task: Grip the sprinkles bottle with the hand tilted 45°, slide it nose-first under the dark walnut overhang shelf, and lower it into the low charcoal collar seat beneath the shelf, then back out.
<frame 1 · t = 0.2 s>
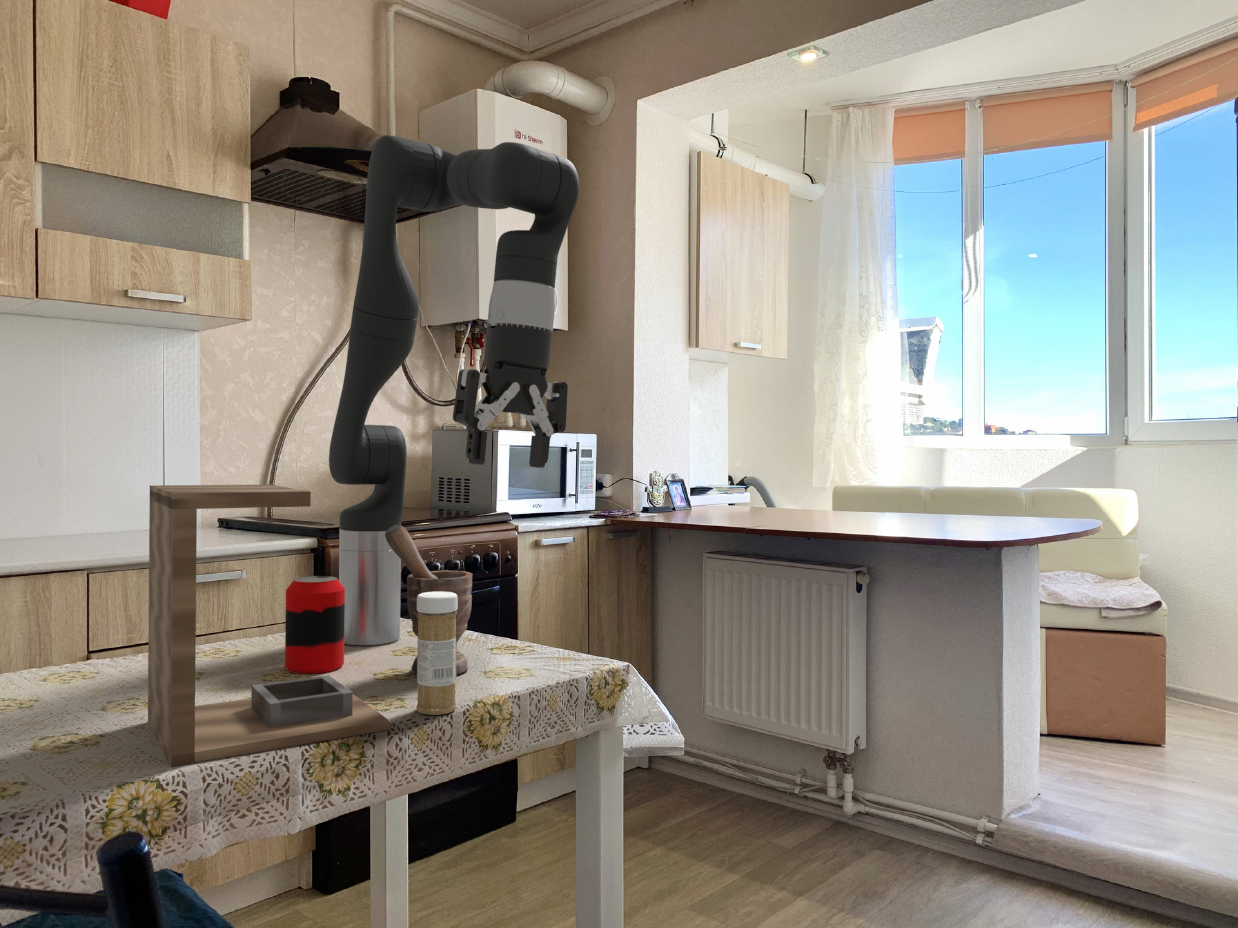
hand: (507, 465, 104), 28 cm above the table, tool pointing down, fingers open, 8 cm apart
sprinkles bottle: (435, 712, 103), on the table
soda can: (314, 668, 122), on the table
overhang stand: (301, 720, 99), on the table
mortar and pestle: (430, 675, 120), on the table
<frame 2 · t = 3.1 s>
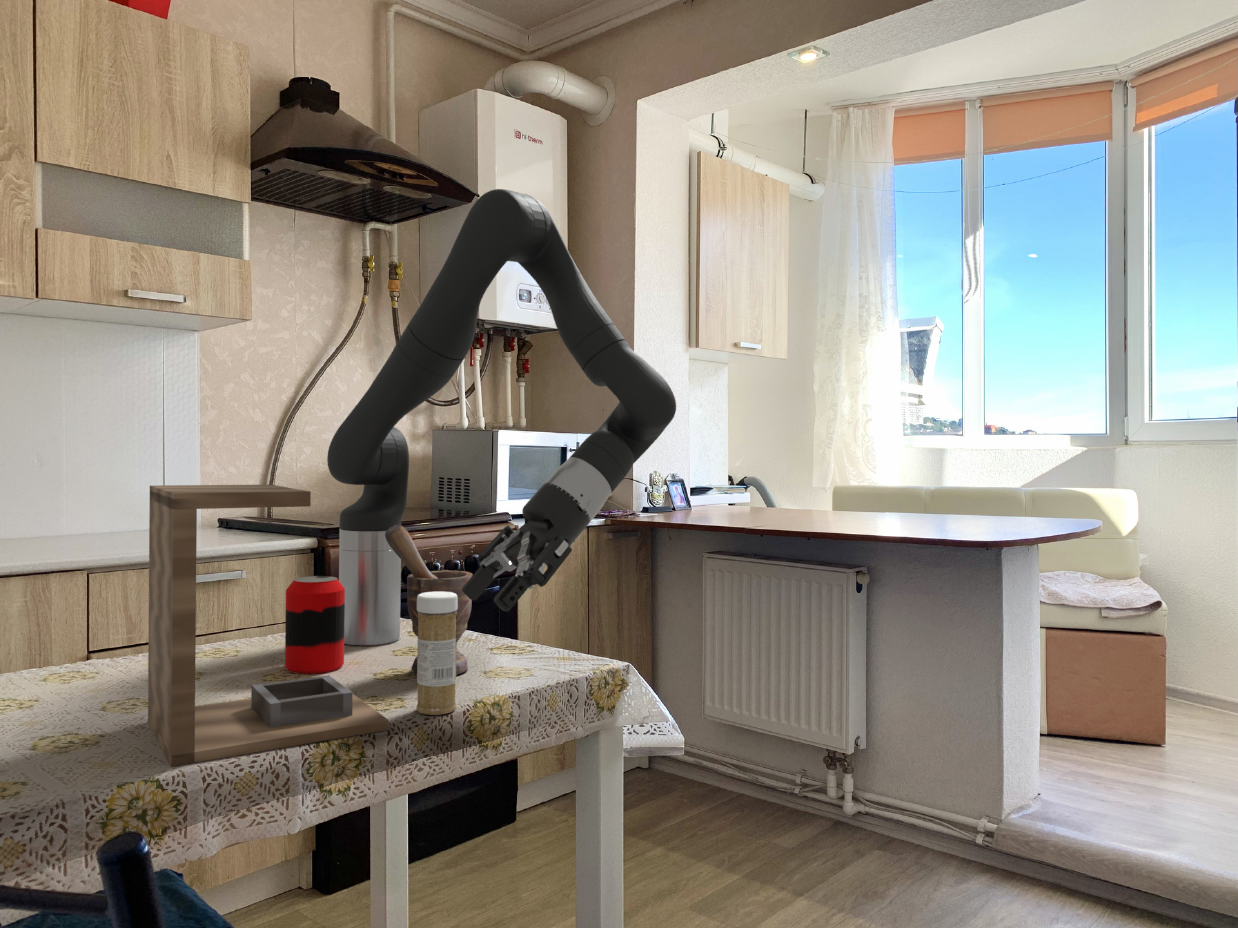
hand: (483, 601, 106), 12 cm above the table, tool tilted 45°, fingers open, 8 cm apart
nothing on the table moved.
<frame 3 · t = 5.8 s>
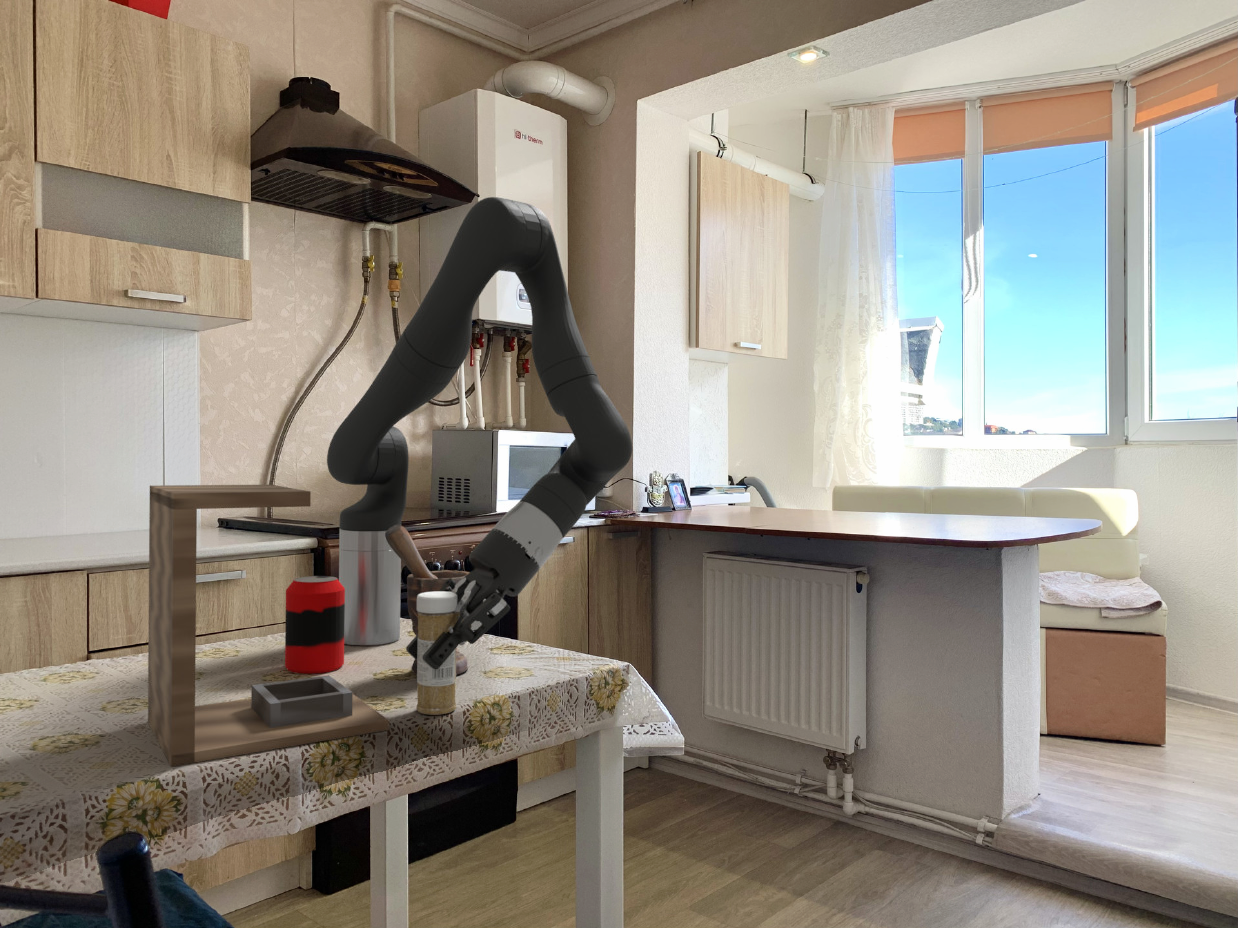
hand: (420, 659, 102), 6 cm above the table, tool tilted 45°, fingers closed on sprinkles bottle, 4 cm apart
sprinkles bottle: (435, 712, 103), on the table, touching gripper
everything else where it was.
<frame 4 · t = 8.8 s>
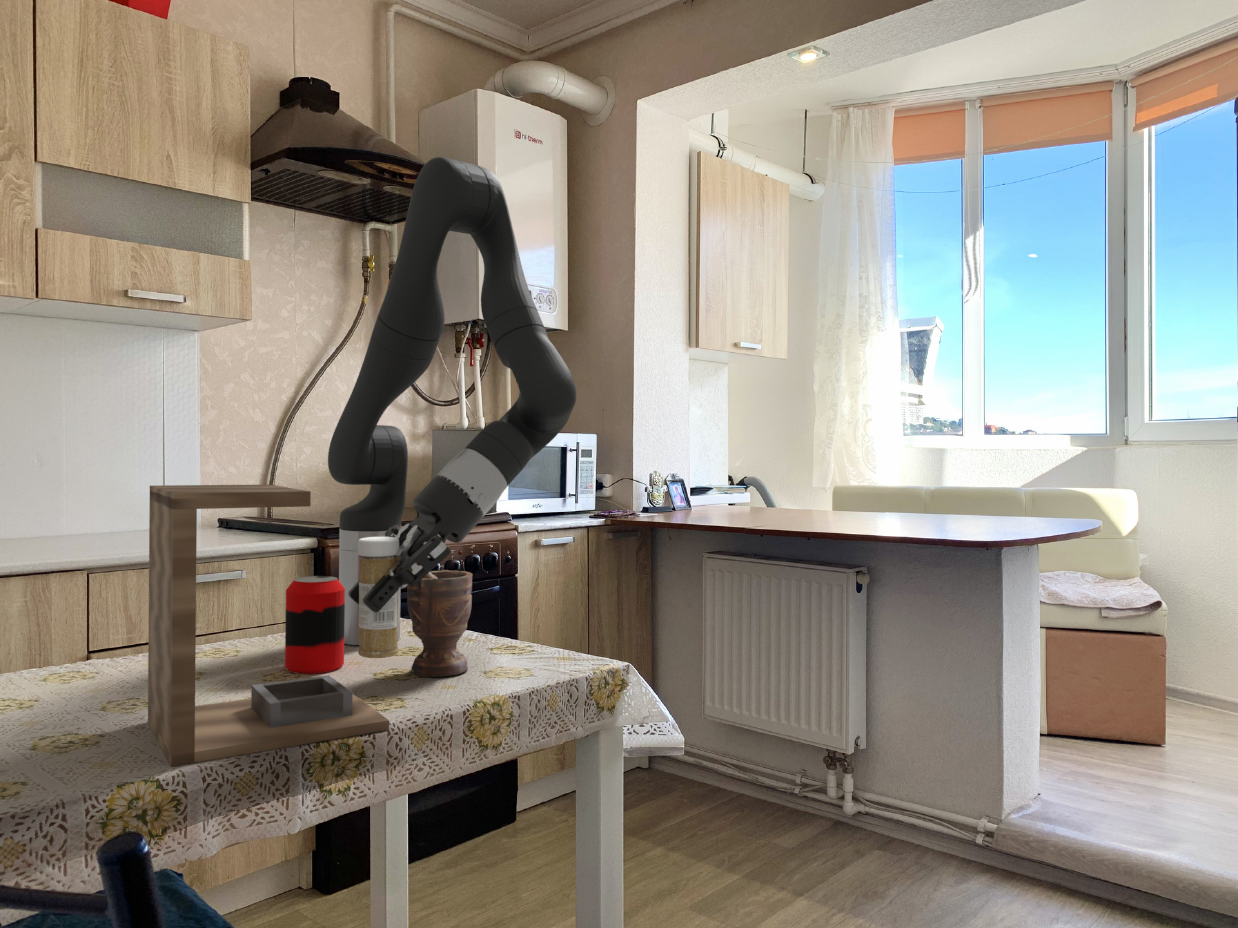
hand: (361, 603, 102), 12 cm above the table, tool tilted 45°, fingers closed on sprinkles bottle, 4 cm apart
sprinkles bottle: (378, 656, 103), point 6 cm above the table, touching gripper
everything else where it was.
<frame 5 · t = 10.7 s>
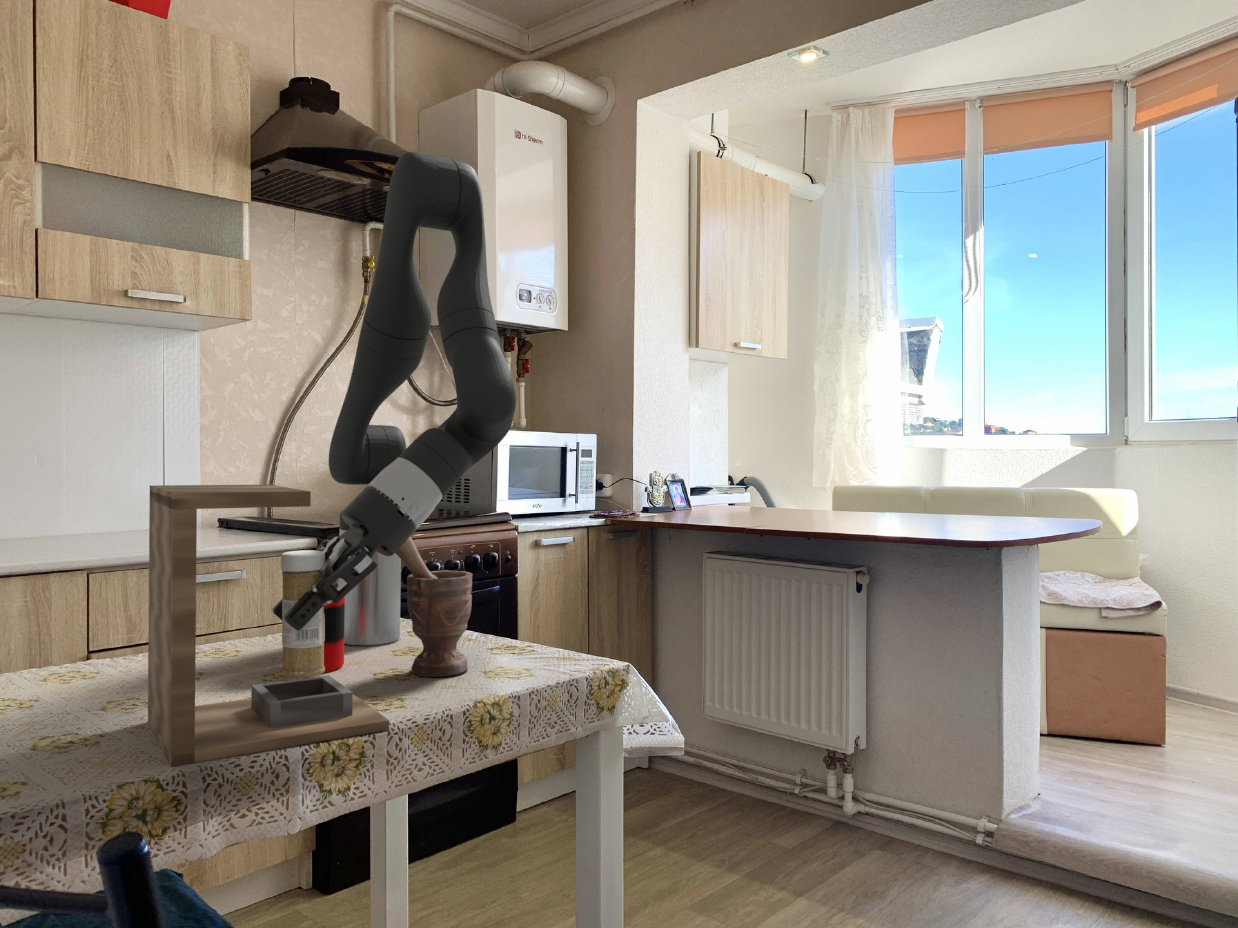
hand: (285, 620, 97), 11 cm above the table, tool tilted 45°, fingers closed on sprinkles bottle, 4 cm apart
sprinkles bottle: (302, 676, 99), point 5 cm above the table, touching gripper
everything else where it was.
when the fingers open (8 cm above the table, at t = 12.0 s): sprinkles bottle drops 1 cm, resting on overhang stand.
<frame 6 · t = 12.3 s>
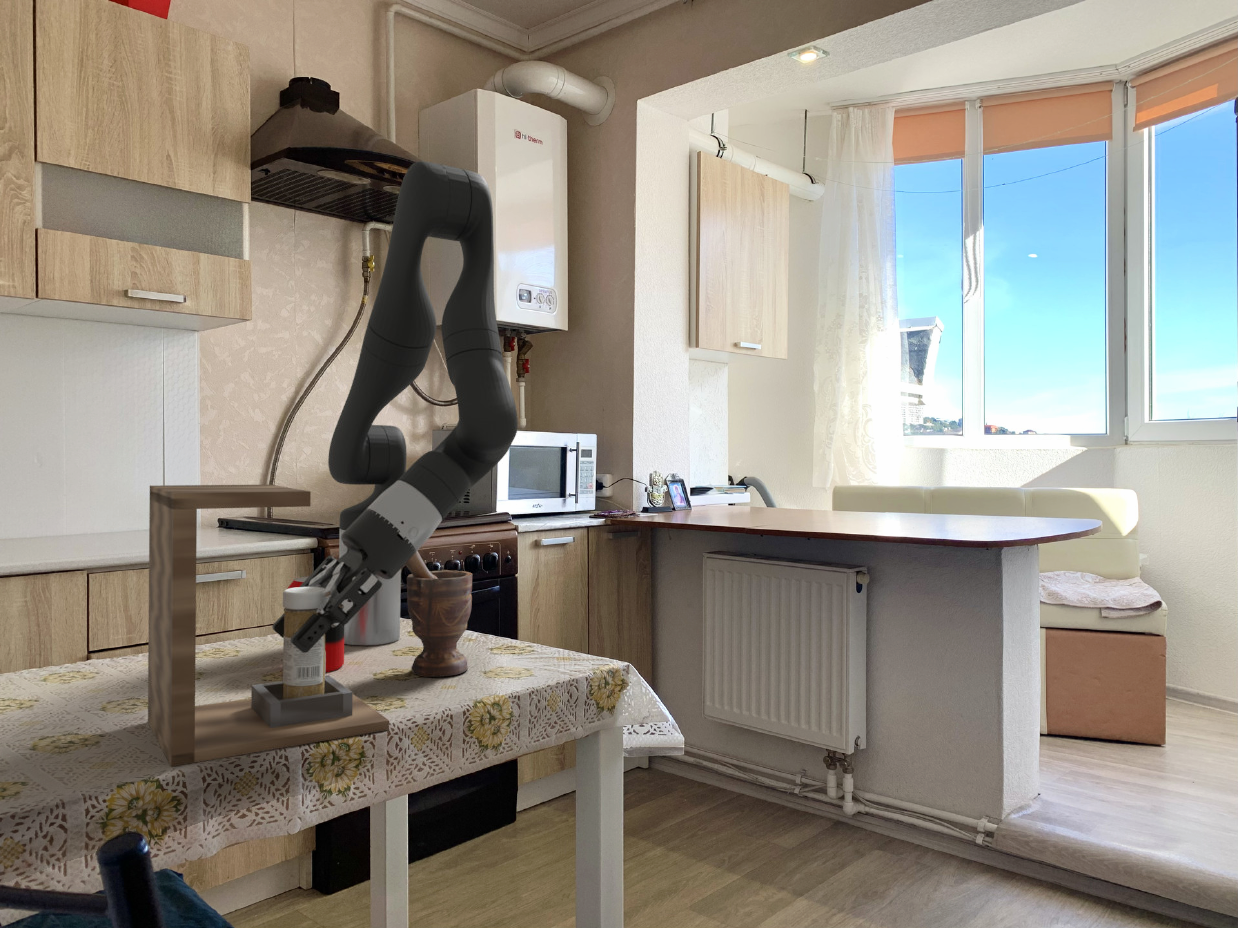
hand: (287, 640, 98), 9 cm above the table, tool tilted 45°, fingers open, 7 cm apart
sprinkles bottle: (303, 713, 99), point 1 cm above the table, touching overhang stand
everything else where it was.
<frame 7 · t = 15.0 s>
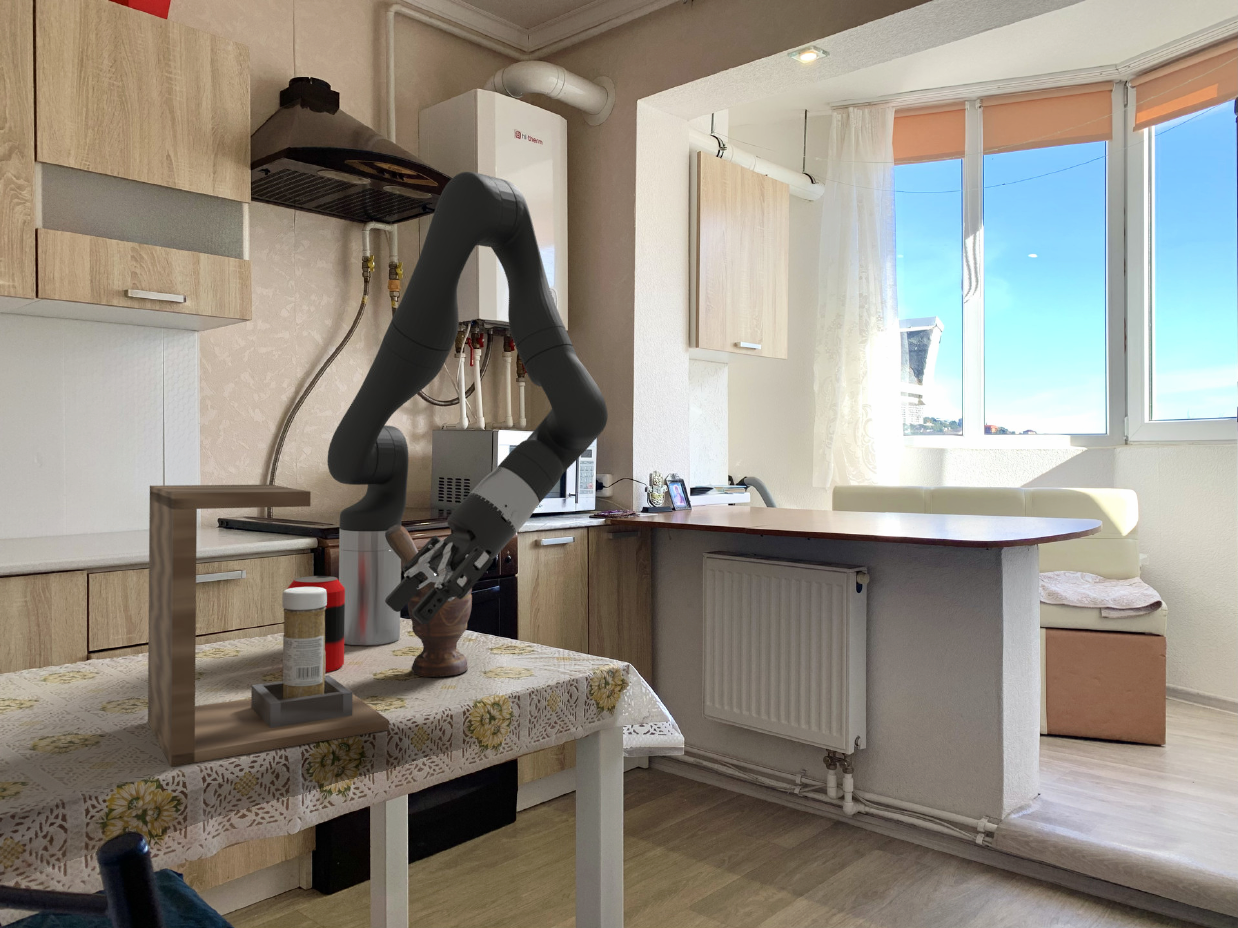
hand: (403, 613, 105), 11 cm above the table, tool tilted 45°, fingers open, 8 cm apart
nothing on the table moved.
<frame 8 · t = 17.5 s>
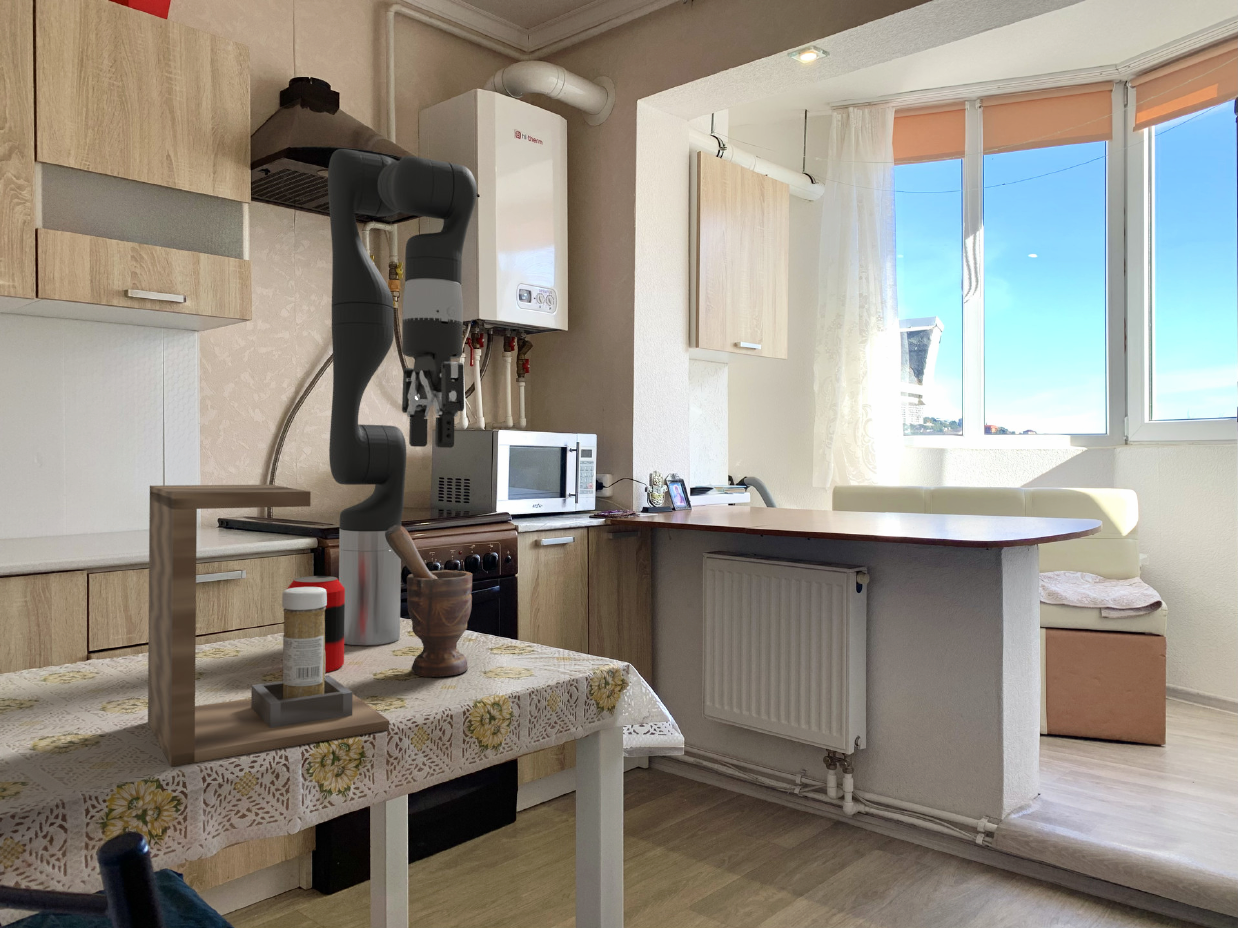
hand: (431, 447, 115), 30 cm above the table, tool pointing down, fingers open, 8 cm apart
nothing on the table moved.
at the end: sprinkles bottle 0.2 cm off-centre on the overhang stand, point 0.8 cm above the overhang stand's base; sprinkles bottle tilted 0°; the gripper is holding nothing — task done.
